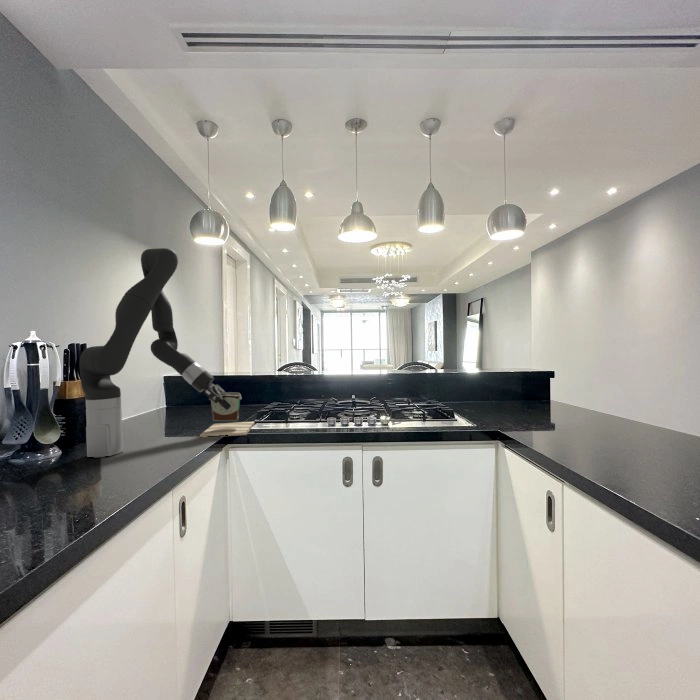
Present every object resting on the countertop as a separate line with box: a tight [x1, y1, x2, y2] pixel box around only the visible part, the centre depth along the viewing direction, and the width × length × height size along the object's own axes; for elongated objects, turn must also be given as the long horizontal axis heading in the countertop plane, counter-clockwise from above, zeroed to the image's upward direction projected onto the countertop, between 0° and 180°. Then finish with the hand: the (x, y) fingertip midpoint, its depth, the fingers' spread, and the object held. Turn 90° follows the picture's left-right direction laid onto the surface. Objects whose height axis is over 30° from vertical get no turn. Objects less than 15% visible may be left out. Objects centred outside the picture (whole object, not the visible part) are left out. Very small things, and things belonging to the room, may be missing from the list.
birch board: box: [199, 421, 255, 438], centre depth 149 cm, size 20×16×1 cm
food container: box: [208, 391, 243, 422], centre depth 149 cm, size 12×6×10 cm, turn 84°
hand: (231, 406), depth 149 cm, fingers closed on food container, 6 cm apart
